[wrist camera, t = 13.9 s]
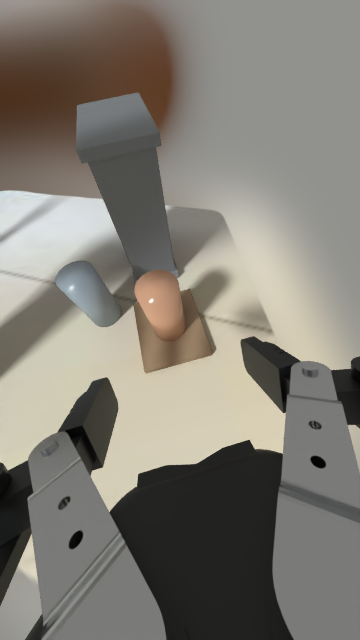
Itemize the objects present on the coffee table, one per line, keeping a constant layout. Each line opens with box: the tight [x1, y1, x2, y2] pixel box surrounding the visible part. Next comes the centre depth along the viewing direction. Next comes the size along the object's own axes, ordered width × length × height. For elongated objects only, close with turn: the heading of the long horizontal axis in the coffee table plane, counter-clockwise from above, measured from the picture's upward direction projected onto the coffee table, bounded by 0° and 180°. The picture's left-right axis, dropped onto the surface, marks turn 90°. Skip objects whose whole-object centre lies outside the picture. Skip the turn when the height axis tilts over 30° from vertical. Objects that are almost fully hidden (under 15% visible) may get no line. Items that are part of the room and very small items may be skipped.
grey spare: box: [56, 261, 121, 327], centre depth 29 cm, size 5×5×10 cm
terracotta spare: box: [134, 270, 186, 341], centre depth 26 cm, size 5×5×10 cm
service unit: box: [76, 93, 179, 284], centre depth 30 cm, size 8×14×20 cm, turn 15°
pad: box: [133, 289, 212, 373], centre depth 31 cm, size 10×12×1 cm
